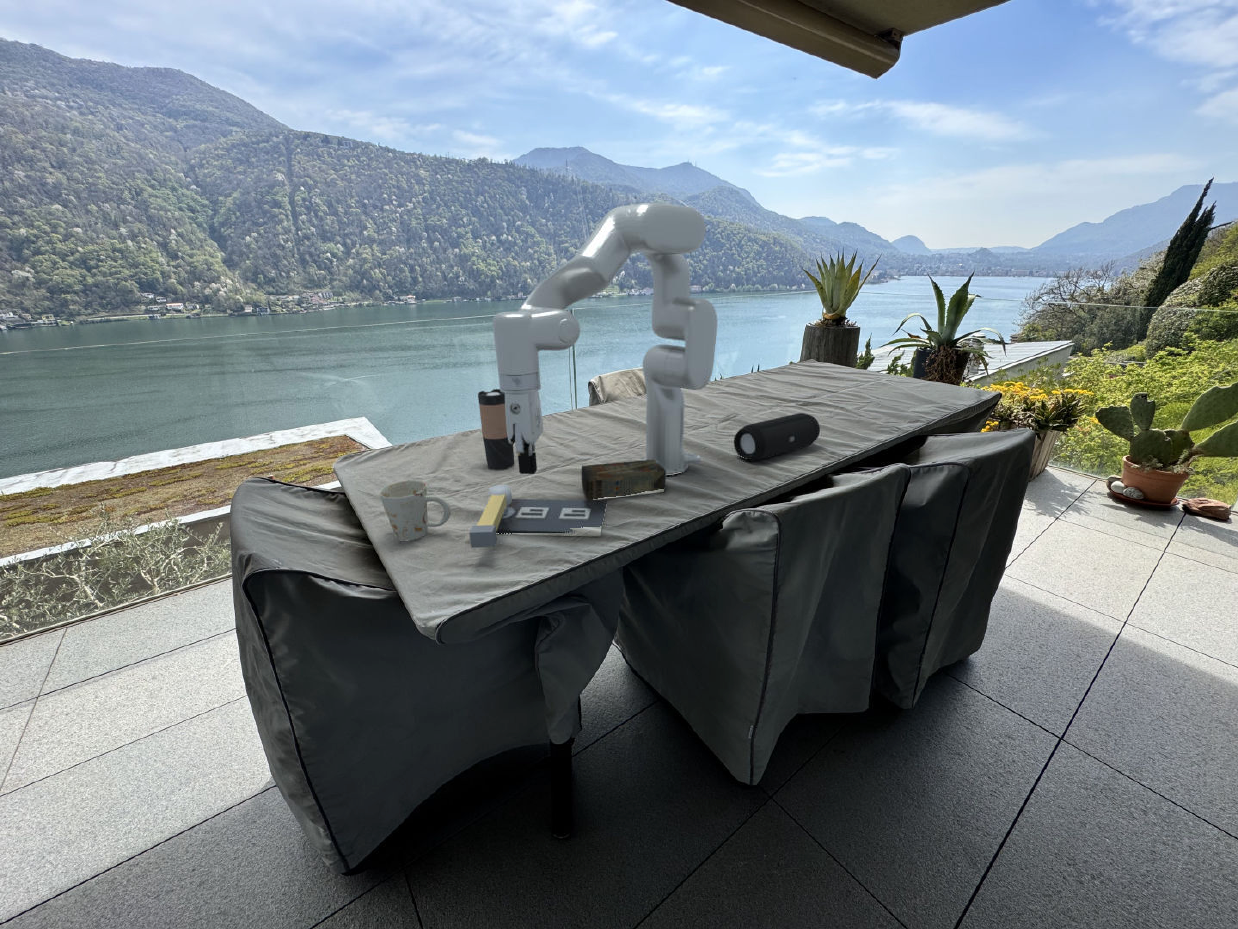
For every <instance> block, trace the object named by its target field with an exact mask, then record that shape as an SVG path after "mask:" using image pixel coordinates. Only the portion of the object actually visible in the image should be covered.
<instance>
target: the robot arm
mask: <svg viewBox="0 0 1238 929" xmlns="http://www.w3.org/2000/svg"><path fill="white" fill-rule="evenodd" d="M706 232H707V231H706V222H705V219H704V217H703V215H702V213H701V212H700V211H698V210H697V209H696V208H693V207H691V206H681V205H672V204H665V203H657V202H656V203H655V202H643V203H637V204H635V203H634V204H629V205H621V206H617V207H614V208H613V209H612V208H611V209H610V210H609V211H608V212H607V213H606V214H605V215H604V217H602V219H601V220H600V222H599V223H598V224H597V226H596V227H595V228H594V230H593V231H592V232H591V233H590V235H589V237H588V238H587V239H586V241H585V242H584V243H583V244H582V246H581V247H580V249H579V250H578V251H577V253H576V254H575V255H574V256H573V257H572V258H571V259H570V260H569V261H568V262H566V263H564V264H563V265H562V266H560V267H559V268H557V270H555V271H554V272H552V274H550V275H549V276H548V277H546V278H545V279H544V280H542V281H541V282H540V283H539V284H537V285H536V287H535V288H534V289H533V290H532V291H531V293H530V294H529V295H528V296H527V298H526V299H525V301H523V303H522V304H521V305H520V308H519V309H518V310H517V311H503V312H502V311H501V312H498V313H496V314H494V316H493V320H492V330H493V337H494V339H493V340H494V347H495V356H496V365H497V374H498V381H499V389H500V391H501V392H503V393H505V414H506V427H507V436H508V441H509V443H510V444H511V445H513V446H515V447H514V449H515V453H516V454H517V460H518V462H517V463H518V470H519V472H518V473H520V475H524V474H525V475H534V474H536V472H537V470H538V465H537V463H538V462H537V455H536V443H537V441H538V440H539V438H540V437H541V435H542V434H543V431H544V421H543V412H542V405H541V399H540V392H539V391H540V390H541V389H542V385H541V372H540V361H539V352H540V351H553V352H554V351H566V350H568V349H570V348H571V347H573V346H574V345H575V344H576V343H577V342H578V340H579V337H580V334H581V326H580V323H579V320H578V319H577V317H576V316H575V315H574V314H573V313H571V312H570V311H568V310H566V309H567V308H569V307H570V306H572V305H573V304H575V303H577V302H580V301H583V300H586V299H587V298H591V297H593V296H595V295H597V294H600V293H601V292H603V291H605V290H606V289H608V287H610V285H611V283H612V281H614V279H615V278H616V276H617V275H618V274H619V272H620V271H621V269H622V268H623V266H624V264H626V262H627V261H628V260H629V258H630V257H631V256H632V255H633V254H634V253H641V254H643V256H644V257H645V259H646V260H647V262H648V263H649V266H650V269H651V271H652V277H653V278H652V279H653V282H652V284H653V286H652V287H653V288H652V302H651V303H652V306H651V328H652V332H653V333H654V334H655V336H657V337H659V338H662V339H666V340H667V339H668V340H675V341H682V342H684V345H685V346H682V345H681V346H680V345H673V344H657V345H654V346H652V347H650V348H648V350H647V351H646V352H645V354H644V356H643V360H642V373H643V378H644V384H645V390H646V392H645V393H646V425H645V426H646V427H645V428H646V430H645V432H646V434H645V438H646V439H645V440H646V442H645V443H646V444H645V446H646V448H645V449H646V450H645V454H646V455H645V457H644V458H643V459H642V460H641V461H643V460H653V459H656V460H658V462H659V463H660V464H661V465H662V467H663V468H664V469H665V470H666V474H673V473H678V472H683V471H684V470H686V469H687V468H688V469H689V463H694V464H701V455H696V453H695V452H686V451H685V448H684V431H685V430H684V429H685V407H686V406H685V405H686V404H685V403H686V402H685V398H684V393H683V389H684V390H688V391H690V390H691V391H699V390H702V389H704V388H706V387H707V385H708V383H710V380H711V378H712V374H713V369H714V362H715V353H716V352H715V351H716V345H717V344H716V343H717V342H716V341H717V336H718V335H717V332H718V314H717V310H716V309H715V306H714V305H713V303H712V302H710V301H709V300H708V299H705V298H702V297H691V270H690V267H689V264H688V262H687V259H686V257H685V256H684V255H687V254H692V253H694V252H696V251H698V249H699V248H700V247H701V246H702V244H703V242H704V241H705V237H706ZM514 444H515V445H514ZM688 469H687V470H688ZM687 470H686V471H687ZM683 473H684V472H683Z"/></svg>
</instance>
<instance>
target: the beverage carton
mask: <svg viewBox="0 0 1238 929" xmlns="http://www.w3.org/2000/svg"><path fill="white" fill-rule="evenodd" d="M642 460H643V459H642ZM642 460H632V461H631V460H629V461H620V462H607V463H599V464H598V463H597V464H596V463H595V464H588V465H581V487H582V491H583V493H584V496H585V498H586V499H585V500H593V499H598V498H604V497H616V496H626V495H631V494H637V493H641V492H645V491H654V490H658V489H664V488H665V489H666V487H667V486H666V485H667V480H666V479H667V476H666V470H665V469H664V468H663V467H662V465H661V464H660V463H659V462H658V460H656V459H653V460H643V461H642Z"/></svg>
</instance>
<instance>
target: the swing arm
mask: <svg viewBox="0 0 1238 929" xmlns="http://www.w3.org/2000/svg"><path fill="white" fill-rule="evenodd" d="M488 493H489V499H488V501H487V504H486V505H485V508H484V510H483V512H482V513H481V516H480V518H479V520H478V522H477V524H476V525H472V526H471V528H470V530H469V532H468V533H469V540H470V546H471V547H470V548H473V549H474V548H493V547H494V548H495V547H496V544H497V541H498V536H497V535H498V534H496V531H497V528H498V526H499V523H500V520H501V518H502V515H503V513H504V510H505V507H506V505H509V504H510V503H511V502H512V499H513V496H512V495H513V494H512V488H511V486H510V485H508V484H497V485H493V486H491V487H489V489H488Z"/></svg>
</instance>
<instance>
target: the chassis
mask: <svg viewBox="0 0 1238 929" xmlns="http://www.w3.org/2000/svg"><path fill="white" fill-rule="evenodd" d="M606 504H607V505H608V500H587V499H585V500H584V499H583V500H582V499H547V498H546V499H543V498H542V499H541V498H539V499H537V498H534V499H533V498H512V502H511V503H510V504H509V505H506V507H505V510H504V513H503V515H502V518H501V520H500V523H499V526H498V528H497V531H496V533H499V534H501V533H502V534H504V533H505V534H506V533H508V534H509V533H511V534H512V533H565V532H566V533H567V532H568V533H569V532H573V530H572V529H570V528H581V527H582V528H583V527H600V526H602V522H603V518H604V519H605V517H604V514H605V515H606V512H605V509H606V510H607V507H606ZM603 523H604V522H603ZM602 527H603V526H602ZM574 532H575V531H574Z"/></svg>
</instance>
